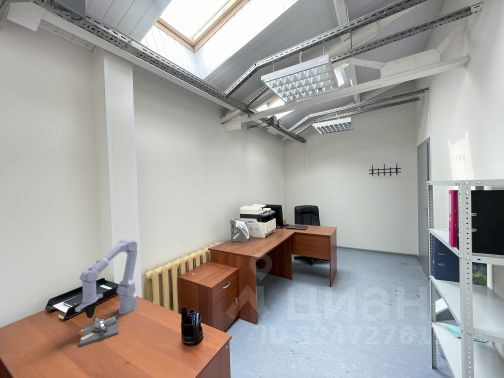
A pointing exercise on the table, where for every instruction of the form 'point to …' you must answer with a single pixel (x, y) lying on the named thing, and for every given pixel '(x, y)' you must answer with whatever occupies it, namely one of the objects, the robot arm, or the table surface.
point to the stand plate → (99, 333)
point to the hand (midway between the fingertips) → (90, 317)
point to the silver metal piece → (98, 325)
